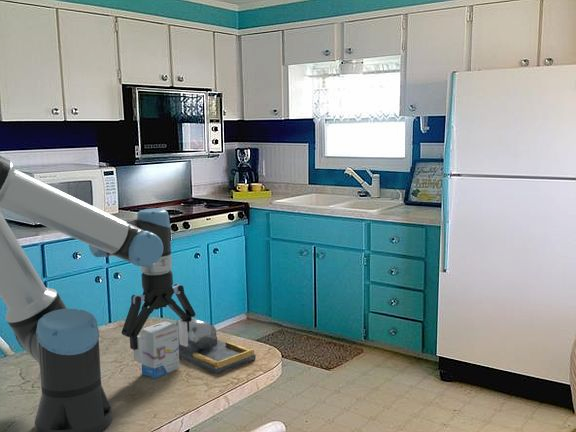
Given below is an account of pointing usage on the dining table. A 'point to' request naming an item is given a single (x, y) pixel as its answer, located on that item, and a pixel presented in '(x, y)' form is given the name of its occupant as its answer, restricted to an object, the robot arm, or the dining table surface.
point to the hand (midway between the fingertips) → (161, 352)
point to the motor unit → (212, 349)
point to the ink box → (160, 349)
